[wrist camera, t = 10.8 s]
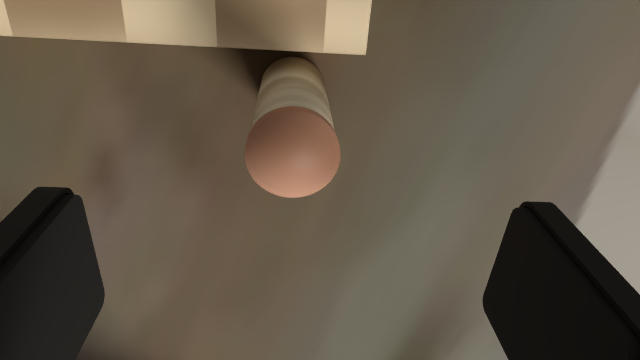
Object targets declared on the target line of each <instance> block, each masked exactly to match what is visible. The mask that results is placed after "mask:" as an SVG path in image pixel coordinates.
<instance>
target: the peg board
mask: <svg viewBox="0 0 640 360" xmlns="http://www.w3.org/2000/svg"><path fill="white" fill-rule="evenodd" d="M371 2H372V0H0V36H18V37H36V38H55V39H74V40H93V41H112V42H131V43H149V44H168V45H187V46H206V47H225V48H244V49H263V50H281V51H300V52H319V53H338V54H357V55H366V47H367V38H368V29H369V20H370V11H371Z"/></svg>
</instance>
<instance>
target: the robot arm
mask: <svg viewBox="0 0 640 360" xmlns="http://www.w3.org/2000/svg"><path fill="white" fill-rule="evenodd" d="M104 296H105V292H104V287H103V283H102V279H101V274H100V270H99V266H98V262H97V258H96V254H95V250H94V246H93V242H92V237H91V233H90V229H89V225H88V221H87V217H86V213H85V209H84V205H83V201H82V198H81V197H80V196H79V195H74V193H73V192H72V190H71V189H69V188H63V187H37V188H35V189H34V190H33V191H32V192H31V193H30V194H29V195H28V196H27V197H26V198H25V199H24V200H23V201H22V202H21V203H20V204H19V205H18V206H17V207H16V208H15V209H14V210H13V211H12V212H11V213H10V214H9V215H8V216H7V217H5V218H4V219H3V220H2V221H1V222H0V360H75V359H76V357H77V355H78V353H79V351H80V349H81V347H82V345H83V343H84V341H85V339H86V337H87V335H88V333H89V332H90V330H91V328H92V326H93V324H94V322H95V320H96V318H97V316H98V314H99V312H100V310H101V308H102V306H103V302H104ZM483 307H484V311H485V313H486V315H487V317H488V319H489V321H490V323H491V325H492V327H493V329H494V331H495V333H496V335H497V337H498V339H499V341H500V343H501V346H502V348H503V350H504V352H505V354H506V356H507V358H508V360H640V295H639V294H638V292H637V291H636V290H635V289H634V288H633V287H632V286H631V285H630V284H629V283H628V282H627V281H626V280H625V279H624V278H623V276H622V275H621V274H620V273H619V272H618V271H617V270H616V269H615V268H614V267H613V266H612V265H611V264H610V263H609V262H608V261H607V259H606V258H605V257H604V256H603V255H602V254H601V253H600V252H599V251H598V250H597V249H596V248H595V247H594V246H593V245H592V244H591V243H590V241H589V240H588V239H587V238H586V237H585V236H584V235H583V234H582V233H581V232H580V231H579V230H578V229H577V228H576V227H575V226H574V224H573V223H572V222H571V221H570V220H569V219H568V218H567V217H566V216H565V215H564V214H563V213H562V212H561V211H560V210H559V209H558V207H557V206H556V205H554V204H553V203H550V202H523V203H522V204H521V205H520V207H519V208H515V209H514V210H513V211H512V213H511V216H510V219H509V222H508V225H507V227H506V230H505V233H504V236H503V239H502V242H501V245H500V248H499V251H498V254H497V257H496V260H495V263H494V265H493V268H492V271H491V274H490V277H489V280H488V283H487V286H486V289H485V292H484V295H483Z"/></svg>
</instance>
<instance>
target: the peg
mask: <svg viewBox="0 0 640 360" xmlns="http://www.w3.org/2000/svg"><path fill="white" fill-rule="evenodd" d="M245 162H246V166H247V169H248V171H249V173H250V175H251V177H252V178H253V179H254V180H255V182H256V183H257V184H258V185H259V186H261V187H262V188H263V189H265V190H267V191H268V192H270V193H272V194H275V195H278V196H282V197H290V198H295V197H303V196H307V195H310V194H313V193H315V192H317V191H319V190H321V189H322V188H323V187H325V186H326V185H327V184H328V183H329V182H330V181H331V180H332V178H333V177H334V175H335V174H336V172H337V169H338V166H339V163H340V146H339V142H338V138H337V135H336V133H335V130H334V126H333V122H332V117H331V113H330V108H329V104H328V99H327V95H326V90H325V86H324V81H323V78H322V75H321V73H320V72H319V70H318V69H317V67H316V66H315V65H314V64H312V63H311V62H310V61H308V60H306V59H304V58H301V57H295V56H289V57H283V58H280V59H278V60H276V61H275V62H273V63H272V64H271V65H270V66H269V67H268V68H267V69H266V71H265V73H264V74H263V77H262V81H261V85H260V90H259V94H258V99H257V104H256V108H255V113H254V117H253V122H252V126H251V130H250V132H249V135H248V138H247V142H246V147H245Z"/></svg>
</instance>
